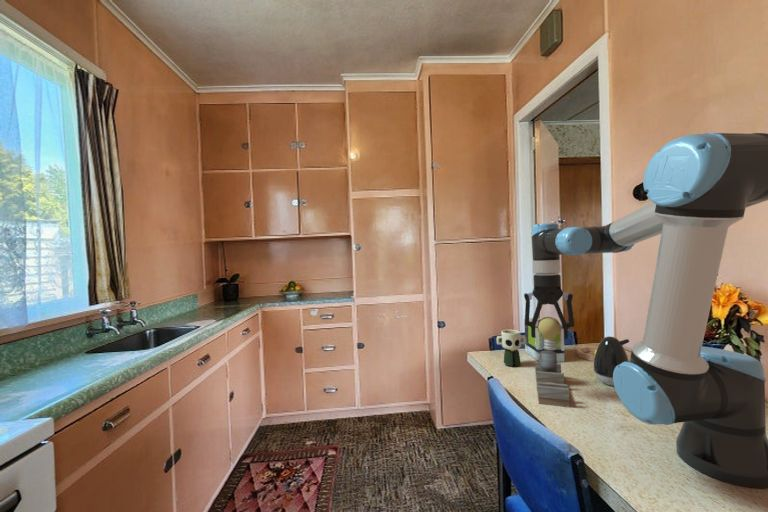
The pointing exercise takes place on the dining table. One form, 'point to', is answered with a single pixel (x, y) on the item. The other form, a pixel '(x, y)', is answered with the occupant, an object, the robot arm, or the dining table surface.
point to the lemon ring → (584, 355)
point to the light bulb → (549, 332)
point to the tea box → (541, 344)
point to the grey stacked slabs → (551, 381)
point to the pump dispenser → (609, 358)
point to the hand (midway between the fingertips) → (549, 348)
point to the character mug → (511, 346)
